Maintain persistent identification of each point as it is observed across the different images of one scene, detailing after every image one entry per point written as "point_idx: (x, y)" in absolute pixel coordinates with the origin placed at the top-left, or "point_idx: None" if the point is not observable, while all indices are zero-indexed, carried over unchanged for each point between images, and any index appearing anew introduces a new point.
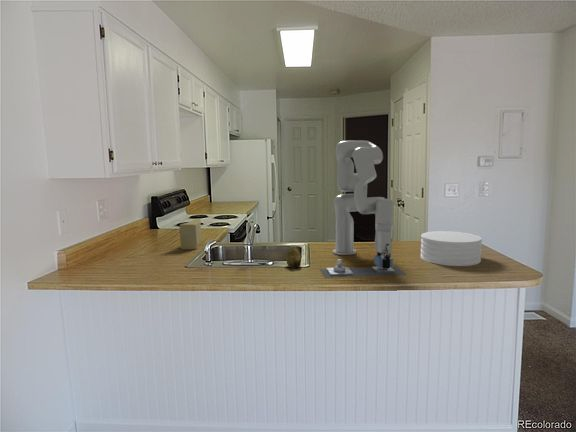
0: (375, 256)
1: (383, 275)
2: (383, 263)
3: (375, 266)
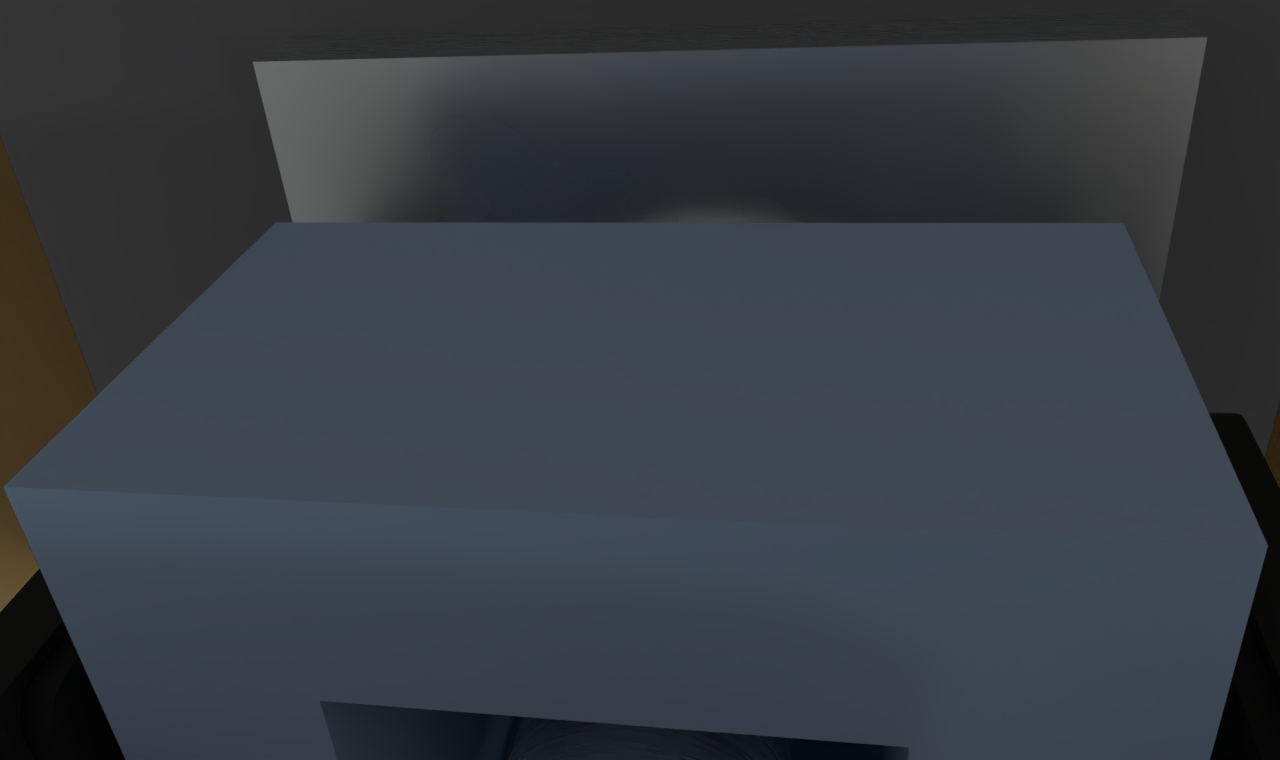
0: (1011, 574)
1: (29, 197)
2: None
3: (1161, 237)
